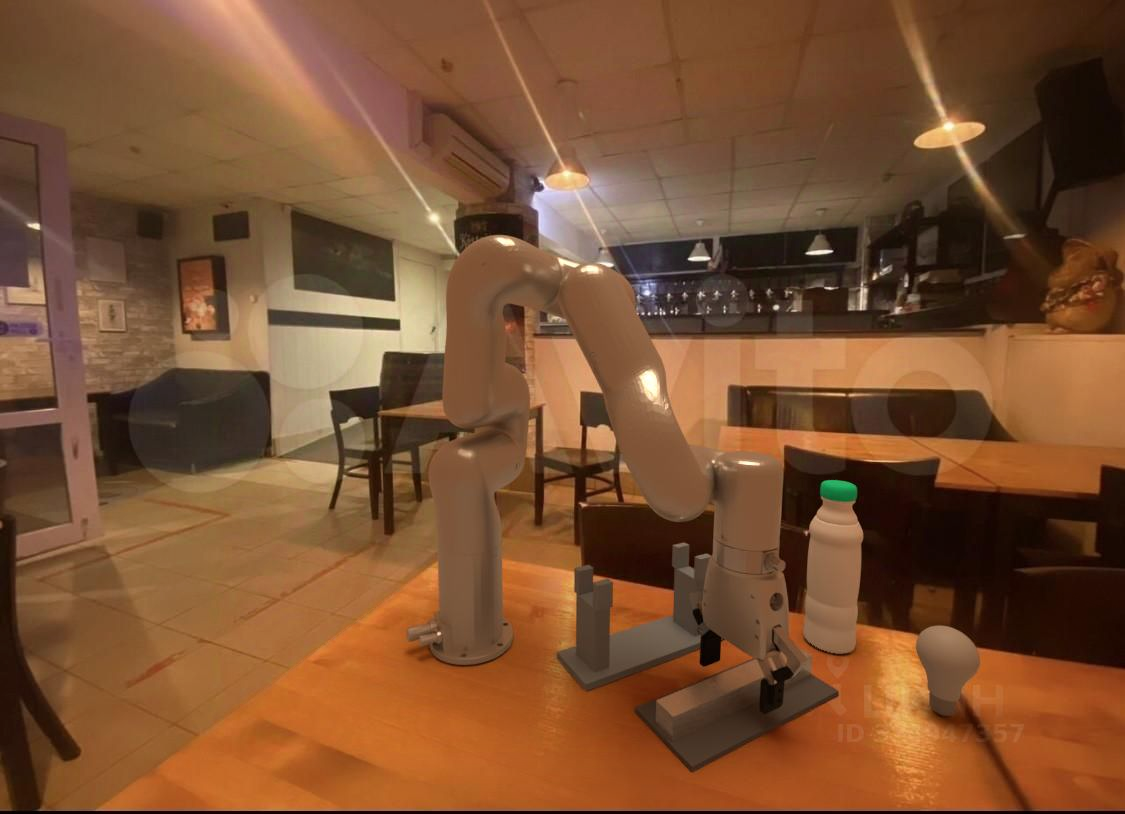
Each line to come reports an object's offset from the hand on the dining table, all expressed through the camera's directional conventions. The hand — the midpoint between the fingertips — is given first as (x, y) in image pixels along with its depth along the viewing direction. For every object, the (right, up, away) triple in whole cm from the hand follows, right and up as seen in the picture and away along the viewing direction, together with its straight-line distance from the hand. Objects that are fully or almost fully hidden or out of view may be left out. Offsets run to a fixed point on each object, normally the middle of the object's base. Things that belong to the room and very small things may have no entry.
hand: (738, 684), depth 62 cm
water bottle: (+19, -1, +13) cm, 23 cm away
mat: (0, -3, 0) cm, 3 cm away
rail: (0, -2, 0) cm, 2 cm away
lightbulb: (+24, -3, -1) cm, 25 cm away
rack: (-10, -1, +12) cm, 15 cm away
